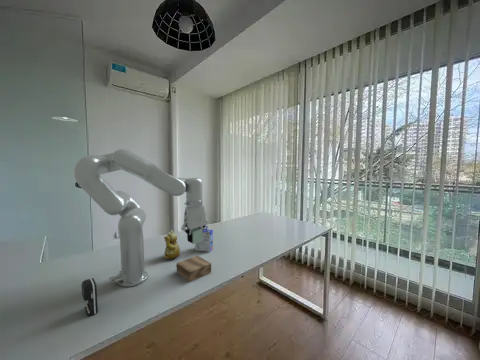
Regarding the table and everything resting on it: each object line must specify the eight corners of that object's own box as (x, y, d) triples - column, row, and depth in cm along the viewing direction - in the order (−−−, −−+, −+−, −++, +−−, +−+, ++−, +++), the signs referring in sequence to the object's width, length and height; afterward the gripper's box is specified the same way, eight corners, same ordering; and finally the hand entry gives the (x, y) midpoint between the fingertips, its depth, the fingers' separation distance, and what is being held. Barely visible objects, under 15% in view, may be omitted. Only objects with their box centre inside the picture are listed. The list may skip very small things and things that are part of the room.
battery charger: (82, 308, 80) (80, 279, 79) (94, 304, 82) (92, 275, 81) (85, 319, 75) (83, 287, 74) (98, 313, 77) (96, 283, 76)
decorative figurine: (168, 253, 127) (167, 228, 126) (182, 253, 127) (181, 228, 126) (162, 261, 118) (161, 234, 116) (177, 261, 118) (177, 234, 116)
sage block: (193, 244, 102) (193, 231, 102) (187, 241, 106) (187, 229, 105) (202, 241, 106) (202, 229, 105) (196, 238, 109) (196, 227, 109)
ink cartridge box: (213, 248, 135) (213, 226, 133) (210, 252, 129) (210, 228, 128) (198, 247, 137) (198, 224, 135) (194, 250, 131) (194, 227, 130)
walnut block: (190, 282, 98) (190, 272, 98) (176, 272, 106) (176, 263, 106) (211, 273, 107) (211, 263, 106) (197, 264, 115) (197, 255, 114)
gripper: (182, 207, 95) (183, 247, 97) (213, 202, 107) (213, 237, 109) (174, 205, 100) (175, 243, 102) (204, 200, 112) (204, 234, 114)
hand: (195, 239), depth 106 cm, fingers closed on sage block, 4 cm apart
